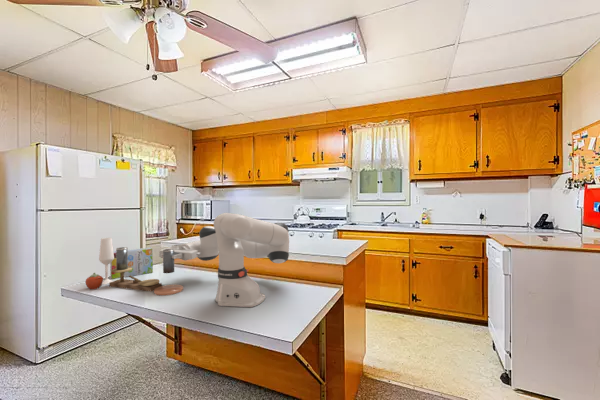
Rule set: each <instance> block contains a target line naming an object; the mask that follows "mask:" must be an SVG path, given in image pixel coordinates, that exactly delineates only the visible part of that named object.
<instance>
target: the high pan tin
mask: <svg viewBox="0 0 600 400" xmlns="http://www.w3.org/2000/svg"><path fill="white" fill-rule="evenodd" d="M128 250H129V249H128V247H127V246H126V247H123V246H121V247H116V250H115V251H116V270H126V269H128Z"/></svg>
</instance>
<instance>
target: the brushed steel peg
mask: <svg viewBox="0 0 600 400" xmlns="http://www.w3.org/2000/svg"><path fill="white" fill-rule="evenodd" d="M163 249H164V248H163ZM172 255H174V249H164V250H163V258H162V262H163V263H162V269H163V270H162V273H163V274H172V273H175V259H172Z"/></svg>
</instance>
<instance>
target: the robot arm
mask: <svg viewBox="0 0 600 400" xmlns="http://www.w3.org/2000/svg"><path fill="white" fill-rule="evenodd" d="M213 220H214V221H213V226H211V225H207V226H206V225H205V226H203V227H202V228H201V229H200V230H199V232H198V234H199V240H195V241H192V242H186V243H181V244H173V245H171V246H169V247H165V248H162V249H160V250H159V251H158V252H159V254H158V255H159V256H158V257H160V258H161V259H163V250H164V249H174V255H172V259H174V260H176V259H179V260H182V261H190V260H193V259H196V258H197V259H199V260H200V261H206V262H207V261H212V260H215V259H216V258H218V268H217V279H218V283H217V285H218V286H217V291H216V296H215V299H214V300H215V302H216V303H217V306H220V307H221V306H222V307H238V308H239V307H241V308H243V307H244V308H252V307H255V306H256V307H257V306H258V305H260V304H262V303H263V302H264V301H265V300H266V295H265V294H263V293H261V289H260V285H259V284H258V282H256V281H255V280H254V279H252V277H250V276H249V275H248V272H249V270H250V268H248V269H246V267H245V265H244V263H245V260H244V259H245V257H246V258H248V259H263V258H268V259H269V261H271V262H272V263H275V264H283V263H286V262H287V261H288V260H289V256H290V253H289V252H290V251H289V250H290V235H289V227H288V225H286V224H285V223H283V222H274V223H273V222H269V221H265V220H262V219H258V218H257V219H256V218H253V217H250V216H247V215H243V214H241V213H231V212H223V213H221V214H219V215H217V216H216V217H215V218H214V219H213Z"/></svg>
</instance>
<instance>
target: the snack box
mask: <svg viewBox="0 0 600 400" xmlns="http://www.w3.org/2000/svg"><path fill="white" fill-rule="evenodd" d="M113 253H114V259H113V261H112V262H111V263H110V264H109V265H110V271H109V272H110V278H111V280H114V278H115V279H120V273H113V272H112V270H113V269H115V268H116V250H113ZM153 265H154V263H153V248H152V247H144V248H143V247H141V248H133V249H128V267H132V270H131V271H128V272H124V278H126V277H129V276H130V275H131V276H133V277H134V276H139V275H145V274H151V273H153V272H154V269H153V268H154V266H153Z"/></svg>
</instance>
